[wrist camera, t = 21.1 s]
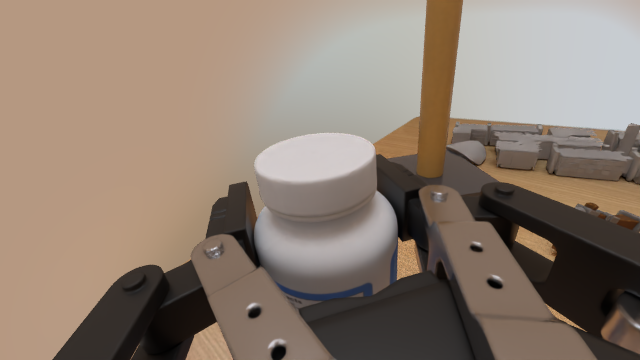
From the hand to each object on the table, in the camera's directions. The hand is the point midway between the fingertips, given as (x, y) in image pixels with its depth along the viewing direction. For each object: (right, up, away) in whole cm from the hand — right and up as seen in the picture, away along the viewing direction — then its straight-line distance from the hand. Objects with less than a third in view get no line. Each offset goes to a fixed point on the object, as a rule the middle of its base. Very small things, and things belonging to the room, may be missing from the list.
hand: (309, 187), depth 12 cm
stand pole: (+15, +1, +22) cm, 26 cm away
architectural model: (+32, +3, +25) cm, 40 cm away
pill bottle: (+1, -7, +1) cm, 8 cm away
